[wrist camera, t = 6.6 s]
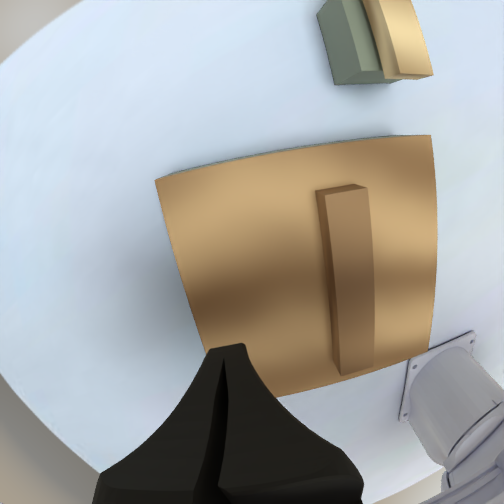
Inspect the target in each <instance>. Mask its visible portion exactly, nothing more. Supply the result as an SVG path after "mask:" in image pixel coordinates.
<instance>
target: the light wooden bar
mask: <svg viewBox="0 0 504 504" xmlns="http://www.w3.org/2000/svg"><path fill="white" fill-rule="evenodd" d="M362 1H363V4H364V6H365V9H366V12H367V15H368V18H369V22H370V25H371V28H372V31H373V35H374V38H375V42H376V45H377V49H378V53H379V56H380V60H381V64H382V68H383V72H384V77H385V79H413V80H418V79H421V78H425V77H429V76H432V75H433V71H432V66H431V62H430V59H429V55H428V51H427V48H426V44H425V41H424V37H423V34H422V31H421V28H420V25H419V21H418V19H417V16H416V13H415V10H414V7H413V4H412V2H411V0H362Z"/></svg>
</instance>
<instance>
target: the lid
mask: <svg viewBox="0 0 504 504" xmlns="http://www.w3.org/2000/svg"><path fill="white" fill-rule="evenodd" d="M155 184H156V188H157V192H158V196H159V200H160V204H161V208H162V212H163V216H164V220H165V223H166V227H167V231H168V234H169V238H170V242H171V245H172V249H173V252H174V256H175V259H176V262H177V266H178V269H179V273H180V276H181V279H182V282H183V286H184V289H185V292H186V295H187V299H188V302H189V305H190V308H191V311H192V314H193V317H194V320H195V323H196V326H197V329H198V332H199V335H200V338H201V341H202V344H203V346H204V349H205V352H206V354H207V352H208V350H209V349H210V348H216V347H221V346H227V345H232V344H237V343H244V344H245V345H246V348H247V352H248V356H249V359H250V361H251V363H252V365H253V367H254V369H255V370H256V372H257V374H258V375H259V377H260V378H261V380H262V381H263V383H264V384H265V385H266V387H267V388H268V389H269V391H270V392H271V393H272V394H273V396H274V397H275V398H277V397H281V396H286V395H290V394H295V393H299V392H303V391H307V390H311V389H315V388H319V387H323V386H327V385H330V384H334V383H338V382H341V381H345V380H348V379H351V378H355V377H358V376H361V375H364V374H367V373H371V372H374V371H377V370H380V369H383V368H385V367H388V366H391V365H394V364H397V363H400V362H402V361H405V360H408V359H410V358H413V357H415V356H418V355H420V354H423V353H425V352H428V346H429V340H430V333H431V325H432V317H433V308H434V297H435V285H436V268H437V197H436V180H435V168H434V157H433V148H432V140H431V135H412V136H399V137H387V138H376V139H367V140H357V141H349V142H341V143H333V144H326V145H319V146H312V147H305V148H299V149H293V150H287V151H281V152H275V153H270V154H264V155H259V156H254V157H248V158H243V159H239V160H234V161H229V162H224V163H220V164H215V165H211V166H206V167H202V168H198V169H194V170H189V171H185V172H181V173H177V174H173V175H170V176H166V177H162V178H159V179H156V180H155Z"/></svg>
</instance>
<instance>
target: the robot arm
mask: <svg viewBox="0 0 504 504" xmlns="http://www.w3.org/2000/svg"><path fill="white" fill-rule="evenodd" d="M475 338H476V333H475V332H474V331H472V332H470V333H468V334H466V335H463V336H461V337H459V338H457V339H455V340H452V341H450V342H448V343H446V344H443V345H441V346H439V347H436V348H434V349H432V350H429V351H428V352H425V353H423V354H420V355H418V356H415V357H413V358H411V359H410V361H409V366H408V373H407V379H406V385H405V391H404V396H403V402H402V407H401V412H400V416H399V422H400V423H404V422H406V421H409V423H410V424H411V426H412V428H413V430H414V431H415V433H416V435H417V436H418V438H419V440H420V442H421V443H422V445H423V447H424V449H425V450H426V452H427V454H428V456H429V457H430V458H431V459H432V460H433V461H434V462H435V463H437V464H439V465H442V466H444V467H445V468H446V471H445V472H444V473H443V475H442V480H441V482H442V483H441V491H442V493H440V494H438V495H436V496H434V497H432V498H430V499H428V500H426V501H424V502H422V503H420V504H504V390H503V389H502V388H501V386H500V385H499V384H498V383H497V382H496V381H495V380H494V379H493V378H492V377H491V376H490V375H489V374H488V373H487V371H486V370H485V369H484V368H483V367H482V366H481V365H480V364H479V363H478V362H477V361H476V360H475V359H474V358H473V357H472V356H471V354H472V350H473V346H474V342H475ZM363 488H364V482H363V478H362V476H361V475H360V473H359V471H358V469H357V468H356V467H355V465H354V464H353V463H352V461H351V460H350V459H349V458H348V456H347V455H346V454H345V453H344V452H343V451H342V449H340V448H338V447H336V446H335V445H333V444H331V443H329V442H328V441H326V440H325V439H323V438H321V437H320V436H318V435H317V434H316V433H314V432H313V431H311V430H310V429H309V428H307V427H306V426H305V425H304V424H302V423H301V422H300V421H299V420H298V419H296V418H295V417H294V416H293V415H292V414H291V413H290V412H289V411H288V410H287V409H286V408H285V407H283V405H282V404H281V403H280V402H279V401H278V400H277V399H276V398H275V397H274V396H273V394H272V393H271V392H270V391H269V389H268V388H267V387H266V385H265V384H264V383H263V381H262V380H261V378H260V377H259V375H258V374H257V372H256V370H255V369H254V367H253V365H252V363H251V361H250V359H249V356H248V352H247V348H246V345H245V344H244V343H237V344H232V345H227V346H221V347H216V348H210V349H209V350H208V352H207V354H206V356H205V358H204V360H203V363H202V365H201V367H200V368H199V370H198V372H197V374H196V376H195V378H194V379H193V381H192V383H191V385H190V387H189V388H188V390H187V391H186V393H185V394H184V396H183V397H182V399H181V401H180V402H179V404H178V405H177V406H176V408H175V409H174V410H173V412H172V413H171V414H170V416H169V417H168V418H167V419H166V420H165V422H164V423H163V424H162V425H161V426H160V427H159V428H158V429H157V430H156V431H155V432H154V433H153V434H152V435H151V436H150V437H149V438H148V439H147V440H146V441H145V442H144V443H143V444H141V445H140V446H139V447H138V448H137V449H135V450H134V451H133V452H132V453H130V454H129V455H128V456H126V457H125V458H124V459H122V460H121V461H119V462H118V463H116V464H115V465H113V466H111V467H110V468H108V469H107V470H105V471H103V472H102V473H100V476H99V479H98V482H97V485H96V489H95V493H94V498H93V502H92V504H363V503H362V500H361V496H362V492H363ZM0 504H3V503H1V502H0Z"/></svg>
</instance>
